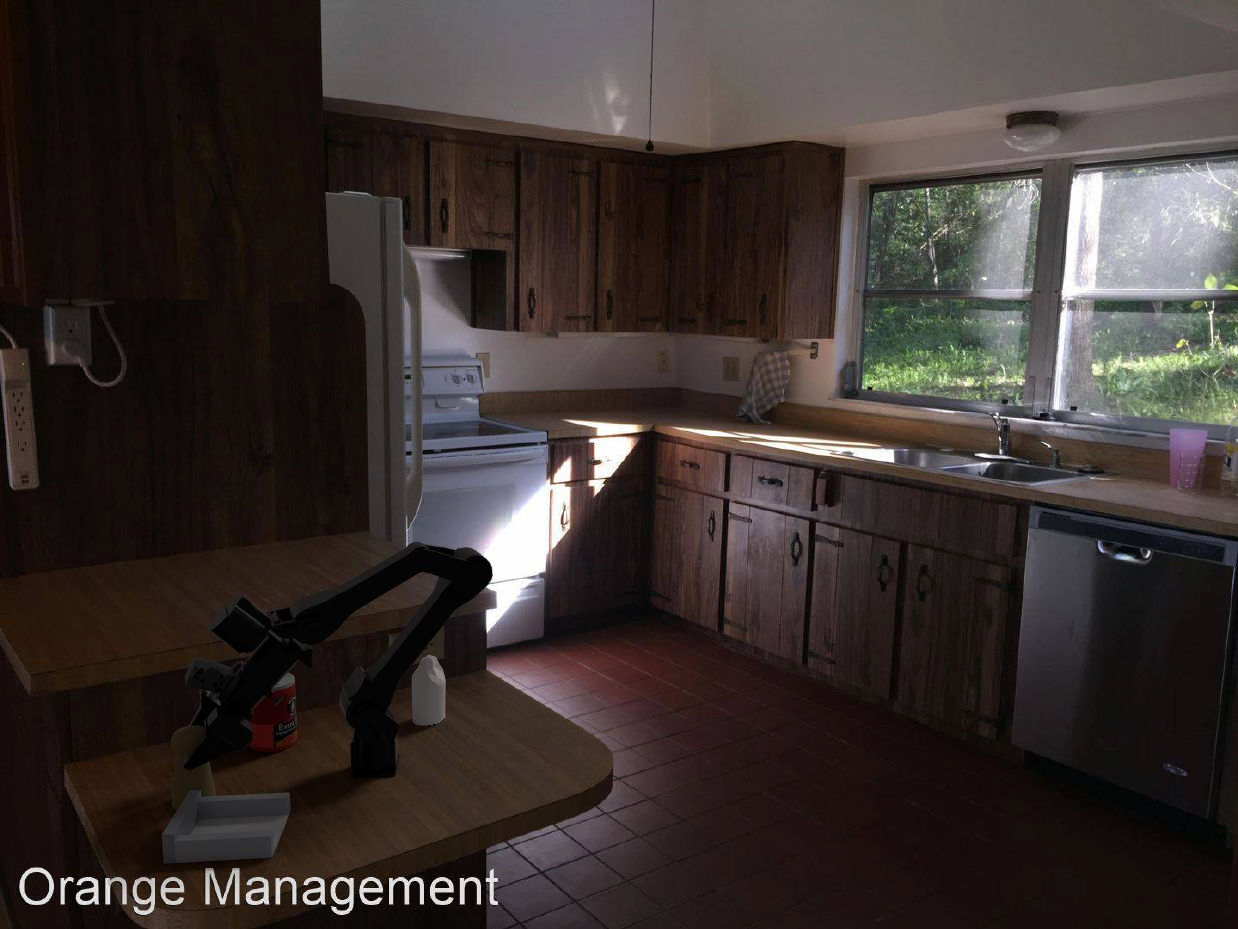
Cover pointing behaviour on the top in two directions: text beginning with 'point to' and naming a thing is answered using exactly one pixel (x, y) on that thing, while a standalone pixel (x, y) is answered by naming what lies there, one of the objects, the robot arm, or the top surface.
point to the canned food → (275, 719)
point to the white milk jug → (428, 692)
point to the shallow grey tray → (225, 827)
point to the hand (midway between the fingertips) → (184, 755)
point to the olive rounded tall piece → (192, 779)
